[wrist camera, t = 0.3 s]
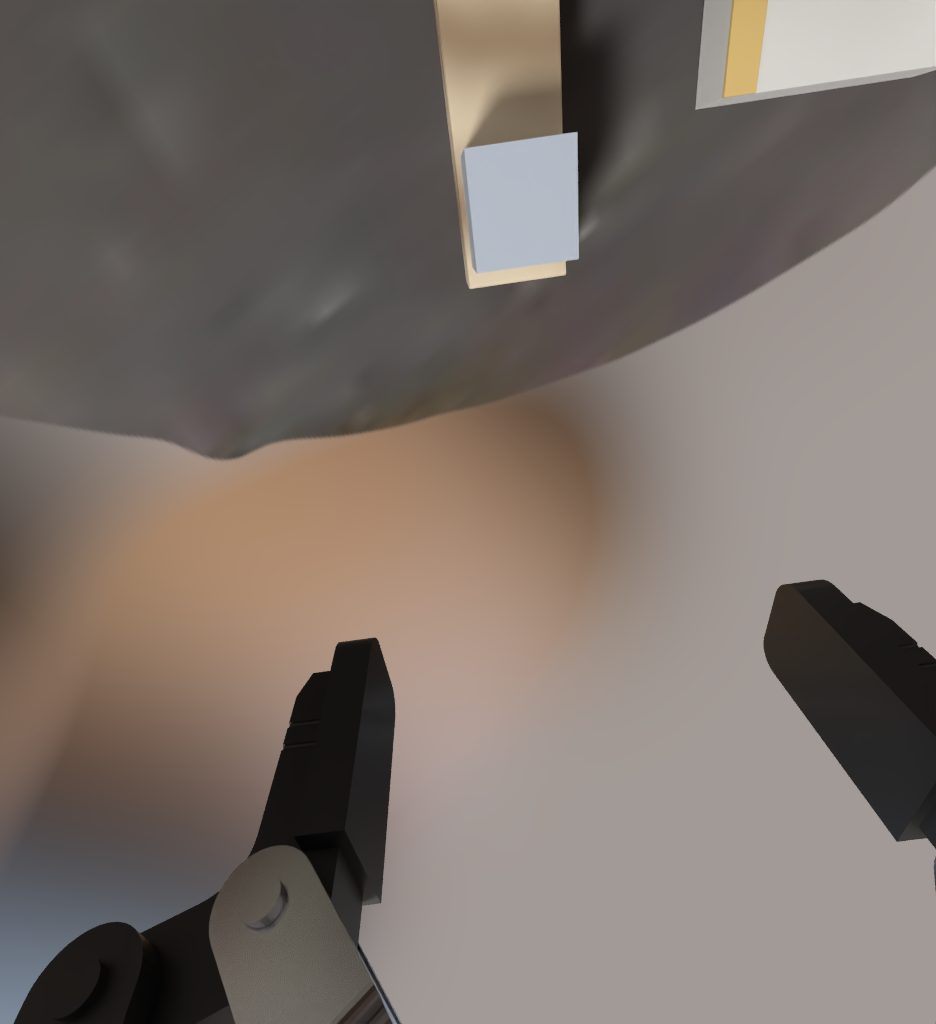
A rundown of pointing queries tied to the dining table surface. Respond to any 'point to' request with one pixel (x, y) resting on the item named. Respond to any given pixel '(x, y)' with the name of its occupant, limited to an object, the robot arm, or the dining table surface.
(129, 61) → the dining table surface
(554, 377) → the dining table surface
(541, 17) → the pallet
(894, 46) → the dock
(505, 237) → the block
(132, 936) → the robot arm
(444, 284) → the dining table surface
